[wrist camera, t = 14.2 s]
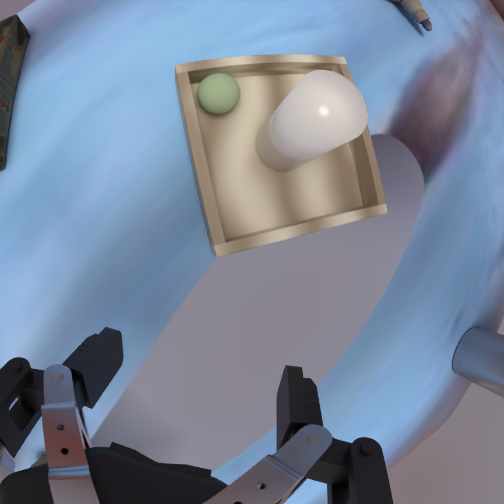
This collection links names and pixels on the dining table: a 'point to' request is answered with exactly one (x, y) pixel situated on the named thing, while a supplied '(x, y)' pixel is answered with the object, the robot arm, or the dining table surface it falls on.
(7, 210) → the dining table surface
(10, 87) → the beverage carton
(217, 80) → the green ball
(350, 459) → the robot arm
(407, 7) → the decorative bottle
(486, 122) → the dining table surface
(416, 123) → the dining table surface
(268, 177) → the tray
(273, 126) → the white dome-topped cylinder
